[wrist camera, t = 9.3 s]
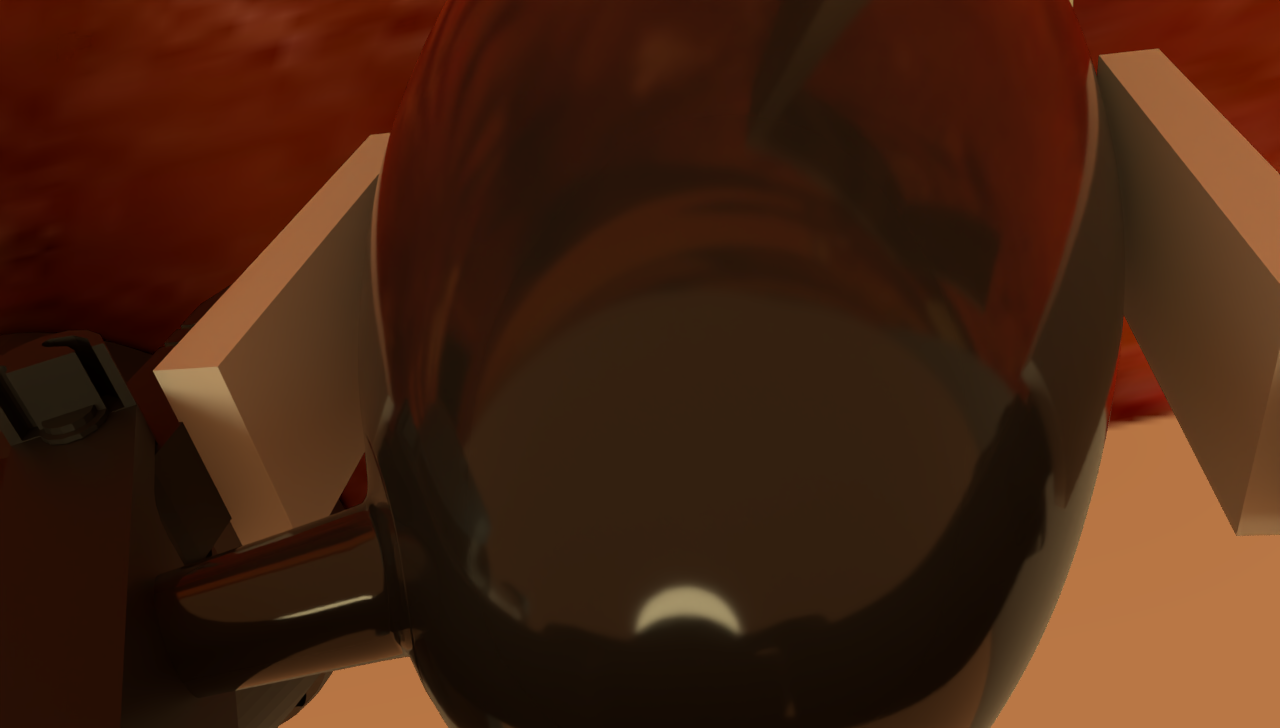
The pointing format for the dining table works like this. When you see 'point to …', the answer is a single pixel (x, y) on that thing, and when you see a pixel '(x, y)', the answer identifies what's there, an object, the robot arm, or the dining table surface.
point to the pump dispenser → (711, 372)
